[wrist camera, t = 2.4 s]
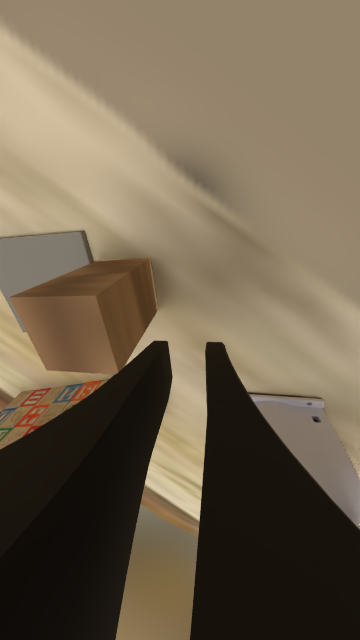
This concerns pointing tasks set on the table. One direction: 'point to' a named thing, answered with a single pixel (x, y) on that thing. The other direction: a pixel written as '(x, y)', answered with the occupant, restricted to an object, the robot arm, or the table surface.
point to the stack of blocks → (39, 409)
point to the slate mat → (39, 261)
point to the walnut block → (90, 315)
